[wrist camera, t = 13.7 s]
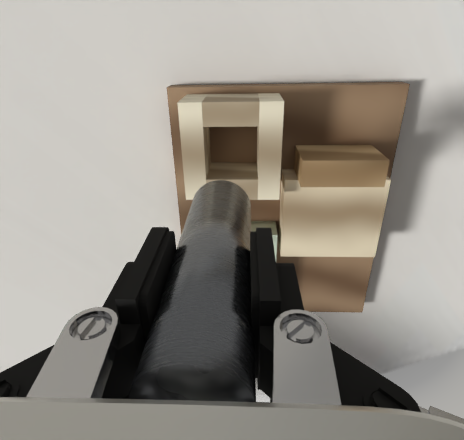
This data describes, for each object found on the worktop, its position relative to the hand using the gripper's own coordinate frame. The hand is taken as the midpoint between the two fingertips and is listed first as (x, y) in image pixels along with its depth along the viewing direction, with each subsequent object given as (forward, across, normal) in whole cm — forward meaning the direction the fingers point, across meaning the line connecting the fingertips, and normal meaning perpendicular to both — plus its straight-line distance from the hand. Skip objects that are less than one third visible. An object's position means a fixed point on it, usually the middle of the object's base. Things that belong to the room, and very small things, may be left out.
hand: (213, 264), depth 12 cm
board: (+19, -4, +7) cm, 20 cm away
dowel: (+4, 0, 0) cm, 4 cm away
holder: (+17, 0, 0) cm, 17 cm away
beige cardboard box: (+17, -8, +6) cm, 20 cm away
